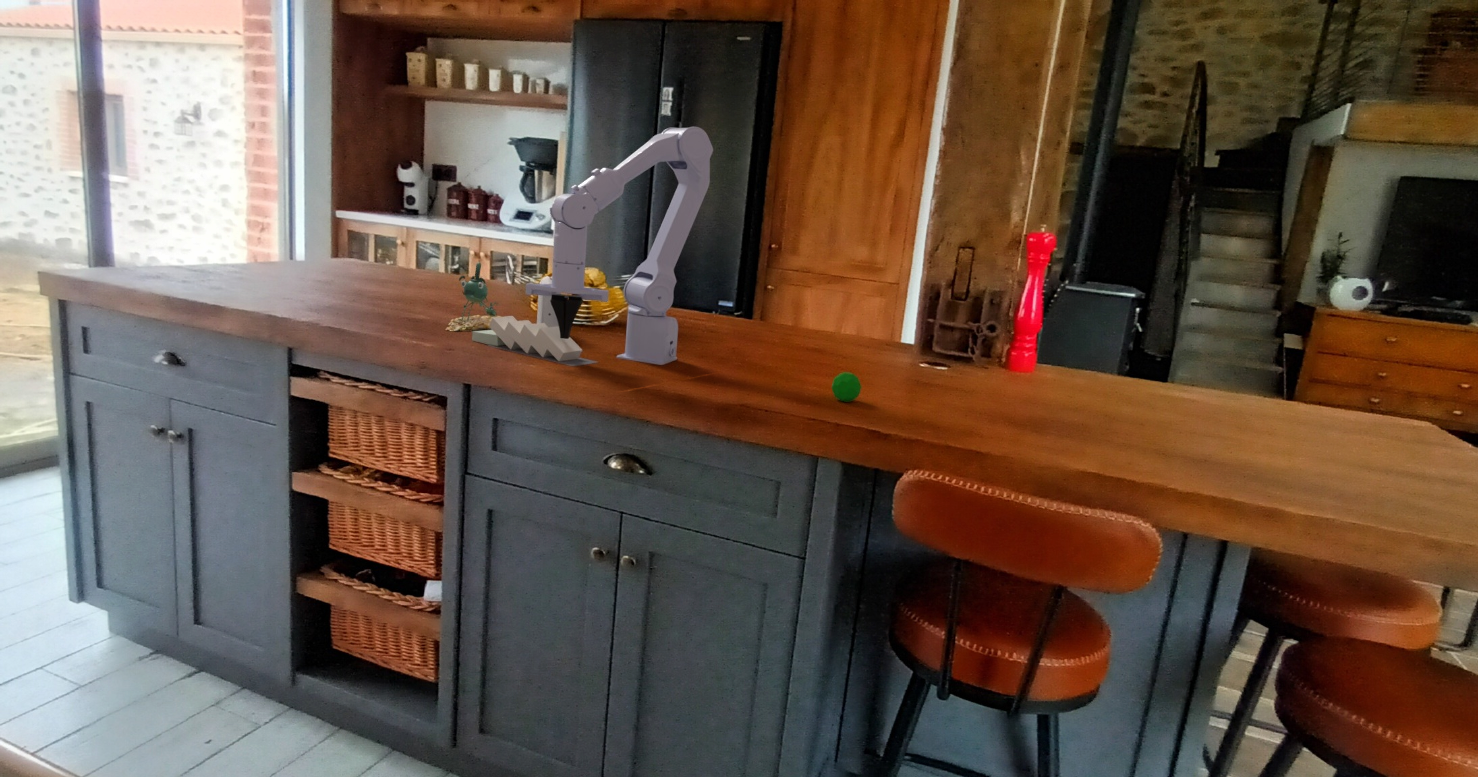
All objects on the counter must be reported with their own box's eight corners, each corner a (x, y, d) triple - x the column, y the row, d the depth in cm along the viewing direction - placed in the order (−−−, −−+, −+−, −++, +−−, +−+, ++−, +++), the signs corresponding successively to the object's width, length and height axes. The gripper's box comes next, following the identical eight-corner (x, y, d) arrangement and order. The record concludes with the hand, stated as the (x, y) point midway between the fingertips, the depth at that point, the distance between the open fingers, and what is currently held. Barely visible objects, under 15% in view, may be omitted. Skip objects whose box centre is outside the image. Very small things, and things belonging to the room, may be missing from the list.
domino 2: (550, 342, 164) (528, 320, 166) (531, 345, 159) (508, 321, 162) (546, 351, 164) (524, 328, 167) (527, 353, 160) (504, 330, 163)
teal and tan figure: (524, 327, 191) (522, 260, 186) (466, 344, 176) (463, 272, 171) (489, 320, 195) (487, 254, 190) (430, 337, 179) (426, 265, 175)
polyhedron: (836, 403, 146) (839, 375, 145) (825, 396, 150) (829, 369, 149) (863, 404, 147) (867, 377, 146) (852, 397, 152) (856, 371, 151)
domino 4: (582, 350, 159) (559, 326, 162) (563, 352, 155) (539, 328, 158) (578, 358, 160) (555, 334, 163) (558, 361, 156) (535, 336, 158)
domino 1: (534, 339, 166) (512, 315, 168) (514, 341, 162) (492, 317, 164) (530, 346, 167) (508, 323, 169) (510, 349, 162) (488, 325, 165)
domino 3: (566, 346, 161) (544, 322, 164) (547, 348, 157) (524, 324, 160) (562, 354, 162) (539, 331, 165) (542, 357, 158) (519, 333, 161)
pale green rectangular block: (517, 333, 168) (492, 329, 172) (497, 335, 164) (472, 331, 168) (517, 343, 168) (492, 339, 172) (497, 345, 164) (472, 341, 168)
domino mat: (599, 363, 159) (599, 362, 159) (572, 367, 153) (572, 366, 153) (514, 343, 170) (514, 342, 170) (486, 346, 164) (486, 345, 164)
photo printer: (560, 340, 179) (563, 280, 177) (539, 339, 178) (542, 278, 175) (555, 331, 189) (558, 274, 186) (535, 330, 187) (538, 273, 185)
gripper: (612, 264, 159) (607, 337, 162) (532, 257, 159) (529, 330, 161) (608, 267, 153) (603, 344, 155) (524, 259, 152) (521, 336, 155)
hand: (564, 337), depth 158 cm, fingers closed
